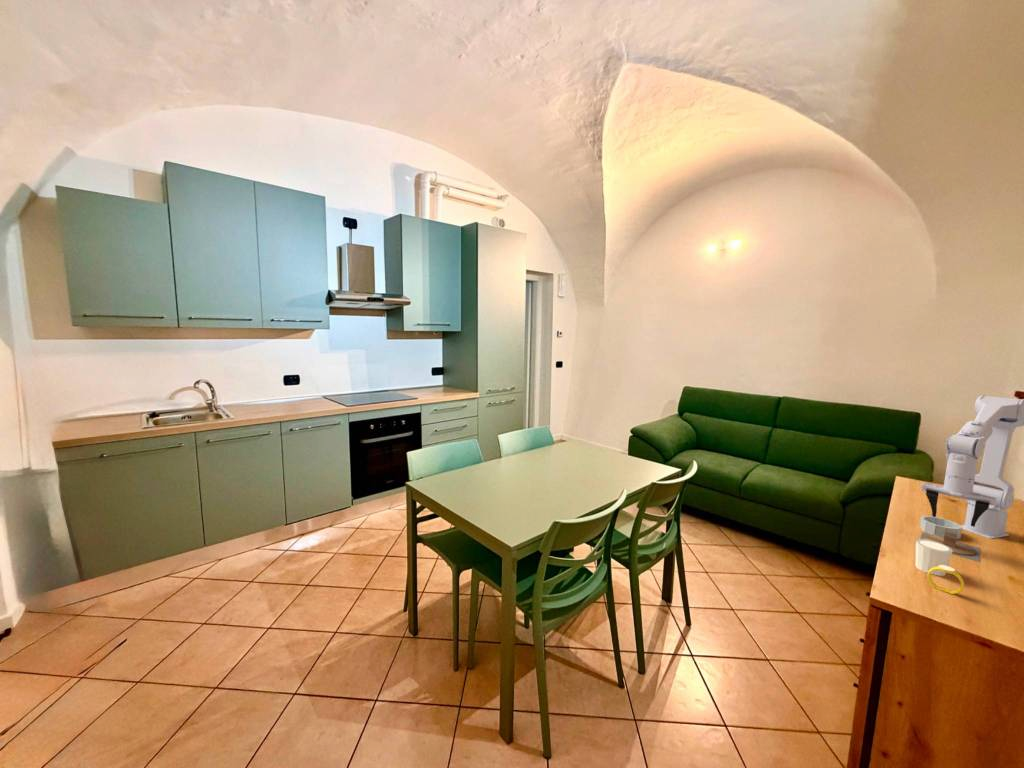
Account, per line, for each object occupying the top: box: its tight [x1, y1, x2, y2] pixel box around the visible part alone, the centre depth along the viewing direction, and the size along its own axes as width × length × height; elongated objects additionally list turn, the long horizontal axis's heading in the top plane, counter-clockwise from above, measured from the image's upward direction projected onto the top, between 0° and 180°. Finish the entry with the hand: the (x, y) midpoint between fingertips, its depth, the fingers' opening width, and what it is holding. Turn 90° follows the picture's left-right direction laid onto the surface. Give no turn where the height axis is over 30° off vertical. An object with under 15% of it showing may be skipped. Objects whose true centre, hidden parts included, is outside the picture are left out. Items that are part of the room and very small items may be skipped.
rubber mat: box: [919, 532, 981, 563], centre depth 119 cm, size 12×12×1 cm
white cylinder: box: [915, 538, 953, 577], centre depth 106 cm, size 7×7×7 cm
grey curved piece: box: [919, 515, 963, 540], centre depth 128 cm, size 9×9×4 cm
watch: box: [927, 565, 965, 595], centre depth 98 cm, size 6×3×6 cm, turn 38°
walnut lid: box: [924, 531, 976, 556], centre depth 119 cm, size 10×10×4 cm
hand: (952, 520), depth 118 cm, fingers open, 7 cm apart
